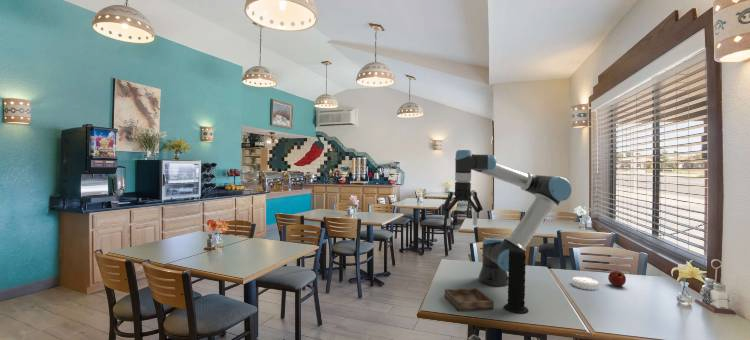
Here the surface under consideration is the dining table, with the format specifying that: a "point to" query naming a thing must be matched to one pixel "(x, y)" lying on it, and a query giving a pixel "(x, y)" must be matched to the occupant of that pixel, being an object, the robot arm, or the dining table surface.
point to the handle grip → (516, 282)
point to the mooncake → (585, 283)
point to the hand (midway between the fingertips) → (461, 225)
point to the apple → (617, 278)
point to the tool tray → (468, 299)
